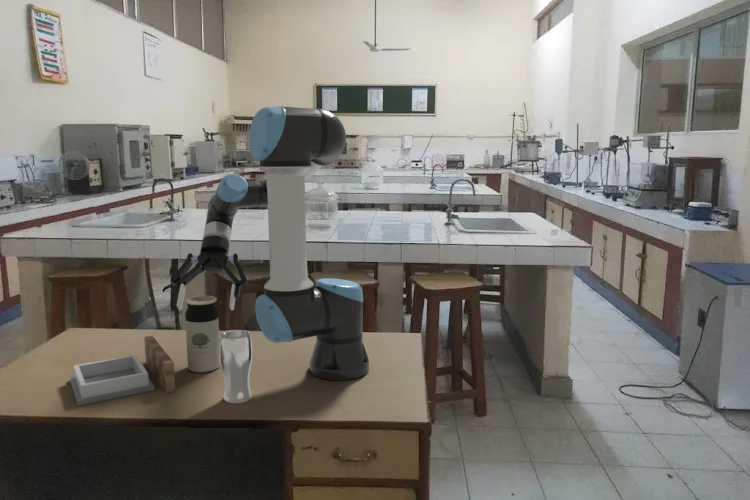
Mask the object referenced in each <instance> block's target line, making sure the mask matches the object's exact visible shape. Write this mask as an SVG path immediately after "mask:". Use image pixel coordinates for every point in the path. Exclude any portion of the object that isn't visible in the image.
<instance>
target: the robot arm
mask: <svg viewBox="0 0 750 500" xmlns="http://www.w3.org/2000/svg"><path fill="white" fill-rule="evenodd" d="M346 143H347V135H346V129H345V127H344V125H343V123H342V122H341V120H340V119H339V117H338V116H337V115H335V114H334V113H332V112H330V111H329V110H326V109H323V108H309V107H308V108H307V107H295V106H280V105H278V106H266V107H262V108H260V109H258V111H257V112H256V113H255V114H254V116H253V119H252V121H251V123H250V127H249V132H248V149H249V150H250V155H251V157H252V158H253V159H254V160H257V161H258V162H259V169H260V170H261V171H262V172H263V173H264V174H265V176H266V179H263V180H261V179H260V180H259V179H258V180H246V179H245V178H244V177H243V176H241V175H238V174H236V173H227V174H226V175H224V176H223V177H222V179H221V180H220V182H219V184H218V185H217V187H216V191H215V194H212V195H211V197H210V199H209V201H208V205H207V211H206V212H207V213H206V220H205V226H204V229H203V235H202V241H201V246H200V252H199V254H198V255H193V254H192V253H190V252H189V253H187V256H186V259H185V260H184V262H183V263H182V265H181V266H180V267H179V268H178V269H177V270H176V271H175V273H174V275H172V277H171V278H170V282H171V283H170V284H172V287H175V293H174V295H175V297H176V299H177V301H176V307H177V309H178V311H182V310H183V307H184V306H183V305H184V301H185V295H186V291H187V290H186V289H187V288H186V286H187V285H188V284H189V283H190V282H192V280H194V279H195V278H196V277H197V276H199V275H200V274H202V273H204V272H205V271H206V272H219V271H221V272H222V273H223V274H225V276H226V277H227V278H228V279H229V280H230V282H232V284H231V289H230V290H231V291H230V299H229V305H228V306H229V308H230V310H231V311H234V310H235V306H236V305H235V304H236V299H239V298H240V294H241V289H242V287H248V286H249V283H248V279H247V277H246V276H245V275H246V274H245V273H244V271H243V268H242V266H241V264H240V260H239V259H240V258H239V255H238V253H233V254H232V255H229V250H230V242H231V237H232V228H233V222H234V218H235V216H236V214H237V212H238V210H239V209H240V208H241V209H243V208H257V207H258V208H259V207H267V219H268V223H267V224H268V244H269V247H268V248H269V249H268V250H269V276H270V278H269V279H268V280H267V281H266V282H265V284H264V286H263V289H264V290H263V291H264V292H263V294H260V295H259V296H258V297H257V298H256V300H255V304H254V309H255V316H256V321H257V324H258V327H259V329H260V330H261V333H262V334H263V336H264V337H265V338H266V339H267V341H270V342H271V343H273V344H281V343H291V342H294V341H298V340H302V339H303V340H304V339H308V338H313V337H316V340H315V344H314V347H313V350H312V352H311V353H312V354H311V357H310V359H309V372H310V373H311V374H312V375H313V376H315V377H317V378H320V379H323V380H328V381H329V380H330V381H349V380H354V379H358V378H361V377H362V376H365V375H367V373H368V372H369V370H370V359H369V356H368V352H367V351H366V350H367V349H366V347H365V343H364V341H363V320H364V319H363V318H364V317H363V311H364V309H363V308H364V307H363V306H364V305H363V303H364V298H363V297H364V295H363V293H364V292H363V288H362V286H361V285H360V284H359V283H357V282H355V281H351V280H348V279H341V278H331V277H330V278H327V277H326V278H324V277H323V278H319V279H317V280H316V281H315V283H314V282H313V281H312V280H311V279H310V278H309V277H308V260H307V259H308V257H307V256H308V255H307V251H308V250H307V217H306V216H307V215H306V213H307V212H306V183H305V181H307V179H309V178H310V177H311V176H312V175H314V174H315V173H316V172H317V171H318V170H319V169H320V168H322V167H327V166H329V165H331V164H333V163H334V162H335V161H336V160H337V159H338V158H339V157H340V156H341V155H342V153H343V152H344V150H345V146H346V145H347V144H346ZM229 262H230V263H231V264H232V265H234V267H235V271H236V272H237V275H238V276H239V278H240V279H238V278H237V276H236V275H235V274H234V273H233V271H232V270H230V267H228V266H227V264H228V263H229ZM195 263H196V264H195ZM194 264H195V265H194ZM193 265H194V267H193V268H192V266H193Z"/></svg>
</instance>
